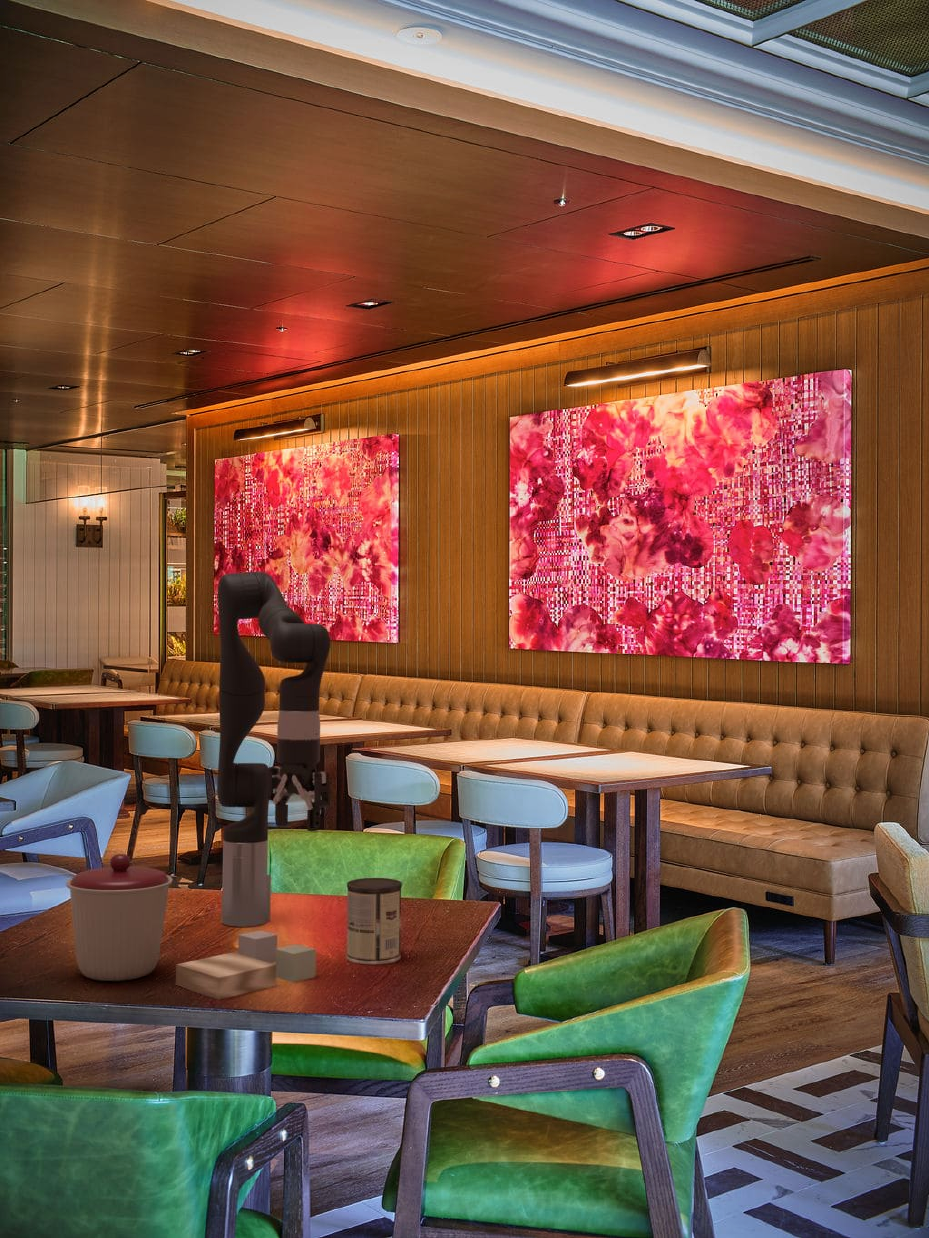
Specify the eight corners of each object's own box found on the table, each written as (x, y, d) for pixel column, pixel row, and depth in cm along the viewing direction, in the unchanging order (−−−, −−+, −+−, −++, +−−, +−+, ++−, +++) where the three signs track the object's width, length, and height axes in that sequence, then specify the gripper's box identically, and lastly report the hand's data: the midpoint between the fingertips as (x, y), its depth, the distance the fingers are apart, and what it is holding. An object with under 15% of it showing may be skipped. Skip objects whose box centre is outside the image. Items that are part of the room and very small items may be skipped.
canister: (84, 960, 230) (86, 844, 231) (182, 962, 230) (184, 846, 230) (48, 987, 212) (51, 861, 213) (154, 989, 212) (157, 864, 212)
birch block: (232, 974, 223) (232, 952, 224) (275, 987, 215) (276, 964, 215) (175, 987, 215) (176, 964, 215) (218, 1002, 207) (219, 977, 207)
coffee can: (359, 949, 242) (360, 875, 242) (408, 954, 238) (410, 879, 239) (336, 961, 232) (337, 885, 232) (388, 967, 229) (389, 889, 229)
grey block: (259, 957, 235) (260, 930, 235) (276, 961, 232) (277, 934, 232) (238, 961, 231) (238, 934, 231) (255, 966, 228) (255, 939, 228)
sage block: (296, 972, 225) (297, 944, 225) (315, 977, 221) (315, 948, 221) (274, 977, 221) (275, 948, 221) (293, 982, 218) (293, 953, 218)
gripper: (341, 737, 220) (340, 830, 220) (289, 733, 230) (287, 822, 229) (309, 739, 214) (307, 835, 214) (256, 734, 224) (254, 825, 224)
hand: (297, 828), depth 222 cm, fingers open, 8 cm apart
